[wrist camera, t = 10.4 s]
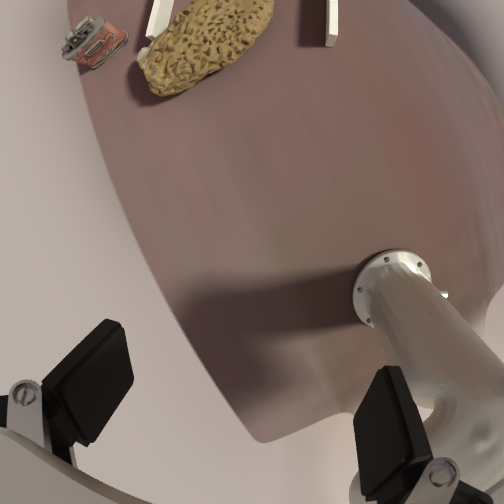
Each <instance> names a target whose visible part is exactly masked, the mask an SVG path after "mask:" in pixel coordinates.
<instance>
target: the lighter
mask: <svg viewBox="0 0 504 504" xmlns="http://www.w3.org/2000/svg"><path fill="white" fill-rule="evenodd" d="M129 39H130V34H129V33H127V32H126V31H122V30H120V29H119V28H117V27H115V26H114V25H112V24H110V23H109V22H107V21H106V20H105V19H104V18H102V17H97V18H96V19H94V18H92V17H90V16H88V17H86V18H85V19H84V20H83V21H81V22H80V23H79V24H78V25H77V26H76V28H75V29H73V30H70V31H68V32H67V34H66V38H65V39H64V40H63V41H62V42H61V43H60V44H59V46H58V49H59V50H62V51H63V54H62V57H63V59H65V60H72V61H76V62H79V63H82V64H85V65H88V66H90V67H91V68H94V69H97V68H99V67H100V66H101V65H103V64H104V63H106V62H107V61H108V60H109V59H111V58H112V57H113V56H114V55H115V54H116V53H118V52H119V51H120V50H121V49H122V48H123V47H124V46H125V45H126V44H127V43H128V41H129Z"/></svg>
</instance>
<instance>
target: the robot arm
mask: <svg viewBox="0 0 504 504" xmlns="http://www.w3.org/2000/svg"><path fill="white" fill-rule="evenodd" d="M385 257H386V258H385ZM384 258H385V259H384ZM359 287H360V288H359ZM447 296H448V292H447V291H446V290H438V289H437V288H436V287H435V286H434V285H433V284H432V283H431V274H430V271H429V268H428V266H427V265H426V263H425V262H424V260H422V259H421V258H420V257H419V256H418V255H416V254H415V253H413V252H411V251H408V250H403V249H393V250H389V251H385V252H383V253H381V254H379V255H377V256H375V257H374V258H373V259H371V260H370V261H369V262H368V263H367V264H366V265H365V266H364V267H363V268H362V270H361V271H360V273H359V274H358V276H357V278H356V280H355V283H354V287H353V293H352V299H353V305H354V308H355V311H356V313H357V315H358V317H359V318H360V319H361V321H362V322H364V323H365V324H366V325H368V326H370V327H372V328H375V330H376V333H377V335H378V337H379V340H380V342H381V344H382V347H383V349H384V352H385V354H386V357H387V359H388V362H389V364H390V366H384V367H383V368H382V369H379V370H378V371H377V373H376V375H375V377H374V379H373V381H372V383H371V385H370V387H369V389H368V391H367V393H366V395H365V397H364V399H363V401H362V403H361V404H360V406H359V408H358V410H357V412H356V413H355V415H354V419H353V425H354V433H355V441H356V449H357V457H358V466H359V471H358V472H357V474H356V475H355V476H354V478H353V480H352V483H351V485H350V489H349V502H350V504H504V362H503V361H502V360H501V359H500V358H499V357H498V356H497V355H496V354H495V353H494V352H493V351H492V350H491V349H490V348H489V347H488V346H487V345H486V343H485V342H484V341H483V340H482V339H481V338H480V337H479V336H478V334H477V333H476V332H475V331H474V330H473V329H472V327H471V326H470V325H469V324H468V323H467V322H466V321H465V319H464V318H463V317H462V316H461V315H460V314H459V313H458V312H457V310H456V309H455V308H454V307H453V306H452V305H451V304H450V303H449V302H448V300H447ZM133 381H134V375H133V371H132V366H131V362H130V357H129V352H128V347H127V342H126V336H125V331H124V328H123V327H121V324H120V323H119V322H116V321H113V320H109V319H105V320H103V321H102V322H101V323H100V324H99V325H98V326H97V327H96V328H95V329H94V330H93V331H92V332H90V334H88V335H87V336H86V337H85V338H84V339H83V340H82V341H81V342H80V343H79V344H78V345H77V346H76V347H75V348H74V349H73V350H72V351H71V352H70V353H69V354H68V355H67V356H66V357H65V358H64V359H63V360H62V361H61V362H60V363H59V364H58V365H57V366H56V367H55V368H54V369H53V370H52V371H51V372H50V373H49V374H48V375H47V376H46V377H45V378H44V379H43V380H42V385H41V386H39V384H37V383H36V382H35V381H32V380H21V381H19V382H17V383H15V384H14V385H13V386H12V388H11V389H10V392H9V395H5V396H4V395H3V396H0V504H152V503H149V502H147V501H144V500H141V499H139V498H136V497H134V496H131V495H129V494H127V493H124V492H122V491H120V490H118V489H115V488H113V487H111V486H109V485H107V484H105V483H103V482H101V481H99V480H97V479H95V478H93V477H91V476H89V475H88V474H86V473H84V472H82V471H80V470H79V469H78V467H77V463H76V459H75V454H74V449H73V444H74V443H75V442H78V443H80V444H82V445H84V446H85V447H88V445H89V444H90V443H93V442H95V441H96V439H97V437H98V436H99V434H100V433H101V431H102V430H103V428H104V427H105V425H106V424H107V422H108V420H109V419H110V417H111V416H112V415H113V413H114V411H115V410H116V409H117V407H118V405H119V404H120V402H121V401H122V399H123V398H124V396H125V395H126V393H127V392H128V391H129V389H130V388H131V386H132V384H133ZM416 405H418V406H421V407H425V408H430V409H434V410H433V412H432V414H431V415H430V416H429V417H428V418H427V419H426V420H425V421H424V422H423V423H422V420H421V417H420V414H419V411H418V409H417V406H416Z"/></svg>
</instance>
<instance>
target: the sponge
mask: <svg viewBox="0 0 504 504" xmlns="http://www.w3.org/2000/svg"><path fill="white" fill-rule="evenodd" d="M273 9H274V0H193V1H192V2H191V3H190V5H189V6H188V7H187V8H185V9H184V10H183V11H181V12H180V13H179V14H177V15H176V16H175V17H174V20H173V22H172V23H171V24H170V26H169V27H168V28H166V29H165V30H164V31H163V32H162V33H161V34H159V35H157V36H156V37H155V38H154V39H153V41H152V42H151V43H150V45H149V46H148V47H144V48H142V49H141V50H140V51H139V53H138V57H137V62H138V64H139V67H140V68H141V69H143V70H144V75H145V77H146V80H147V81H148V82H149V83H148V86H149V89H150V91H151V92H152V93H155V94H156V95H158V96H161V97H164V96H170V95H174V94H177V93H179V92H182V91H184V90H185V89H187V88H190V87H192V86H193V85H194V84H195V83H196V82H198V81H199V80H201V79H202V78H204V77H205V76H206V75H207V74H209V73H212V72H214V71H217V70H221V69H222V68H224V67H227V66H229V65H231V64H232V63H234V62H235V61H236V60H237V59H238V58H239V57H241V56H242V55H243V54H244V53H245V52H246V51H248V50H249V48H250V47H252V46H253V44H254V43H255V39H256V38H258V36H259V35H260V34H261V33H262V32H263V31H264V30H265V29H266V28H267V26H268V24H269V22H270V19H271V18H272V17H273Z"/></svg>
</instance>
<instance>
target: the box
mask: <svg viewBox="0 0 504 504" xmlns="http://www.w3.org/2000/svg"><path fill="white" fill-rule="evenodd" d="M173 3H174V0H154V4H153V8H152V11H151V15H150V19H149V23H148V27H147V32H146V37H147V38H148V39H150V40H151V41H153V39H154V38H155V37H156V36H157V35H159V34H161V33H162V32H163V31H164V30H165V29H166V28H168V24H169V19H170V15H171V11H172V7H173ZM337 36H338V0H326V44H325V46H328V47H333V46H334V44H335V41H336V39H337Z"/></svg>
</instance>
